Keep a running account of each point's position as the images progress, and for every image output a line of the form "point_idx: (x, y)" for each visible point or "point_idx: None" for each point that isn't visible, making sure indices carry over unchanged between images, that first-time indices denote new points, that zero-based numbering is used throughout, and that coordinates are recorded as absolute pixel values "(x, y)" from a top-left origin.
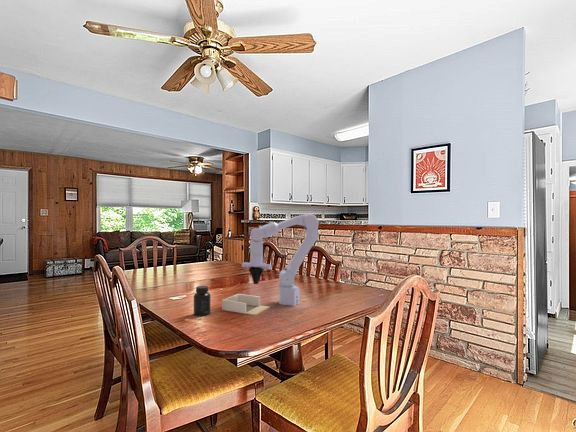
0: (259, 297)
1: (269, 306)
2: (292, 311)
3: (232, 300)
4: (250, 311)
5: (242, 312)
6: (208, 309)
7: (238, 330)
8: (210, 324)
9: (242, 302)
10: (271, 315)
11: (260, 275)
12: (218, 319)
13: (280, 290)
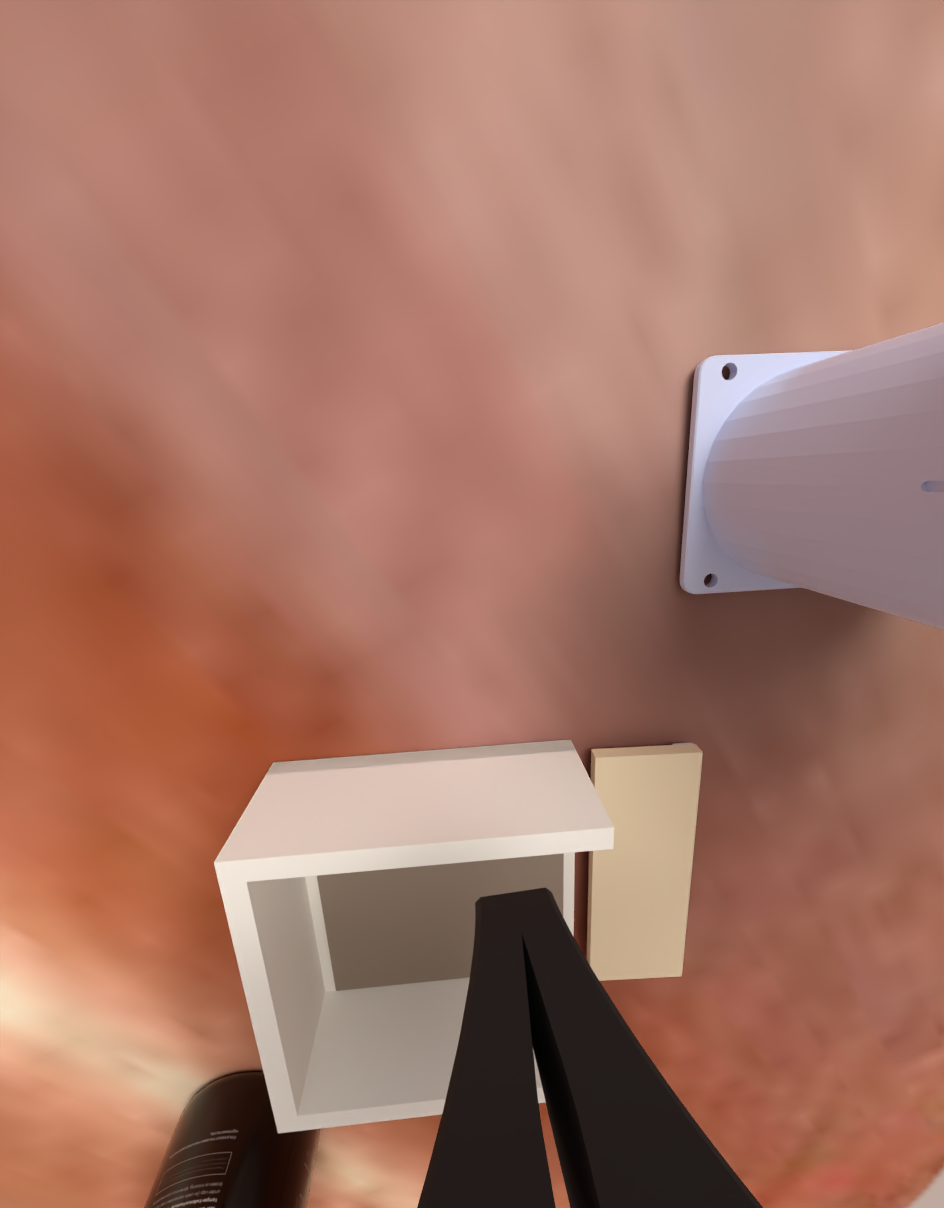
0: (609, 843)
1: (700, 753)
2: (926, 673)
3: (288, 952)
4: (595, 941)
5: None
6: (306, 1192)
7: None
8: None
9: None
10: (774, 856)
11: (701, 1139)
12: None
13: (930, 625)
